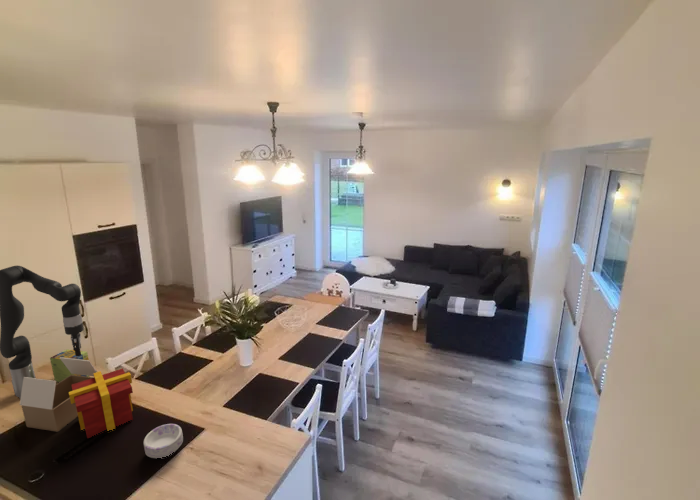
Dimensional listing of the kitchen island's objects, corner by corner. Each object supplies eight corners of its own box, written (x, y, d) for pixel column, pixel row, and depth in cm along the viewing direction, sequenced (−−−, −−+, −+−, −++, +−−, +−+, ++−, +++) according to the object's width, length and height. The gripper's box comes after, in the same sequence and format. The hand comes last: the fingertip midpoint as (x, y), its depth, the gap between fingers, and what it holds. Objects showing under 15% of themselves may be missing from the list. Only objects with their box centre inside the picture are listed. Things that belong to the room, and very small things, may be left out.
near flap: (20, 404, 173) (19, 405, 173) (24, 377, 174) (23, 377, 174) (52, 409, 170) (51, 409, 169) (56, 380, 171) (55, 381, 171)
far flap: (59, 357, 191) (60, 357, 192) (71, 373, 198) (72, 372, 199) (88, 361, 188) (89, 360, 188) (99, 377, 195) (100, 376, 195)
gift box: (79, 445, 164) (71, 406, 160) (74, 417, 183) (66, 381, 178) (141, 420, 180) (135, 384, 176) (130, 396, 199) (125, 363, 194)
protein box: (76, 384, 210) (71, 360, 206) (54, 381, 213) (49, 357, 209) (92, 374, 220) (87, 351, 216) (71, 371, 223) (66, 348, 219)
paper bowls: (145, 469, 152) (142, 453, 150) (146, 445, 165) (143, 430, 163) (185, 456, 159) (183, 440, 157) (182, 433, 172) (180, 419, 170)
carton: (26, 426, 176) (21, 405, 173) (75, 394, 201) (71, 374, 198) (57, 431, 173) (52, 409, 170) (103, 397, 198) (99, 378, 195)
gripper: (64, 319, 186) (69, 348, 190) (63, 330, 175) (68, 360, 179) (82, 316, 191) (87, 344, 194) (82, 326, 179) (87, 356, 183)
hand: (78, 352), depth 187 cm, fingers open, 8 cm apart
